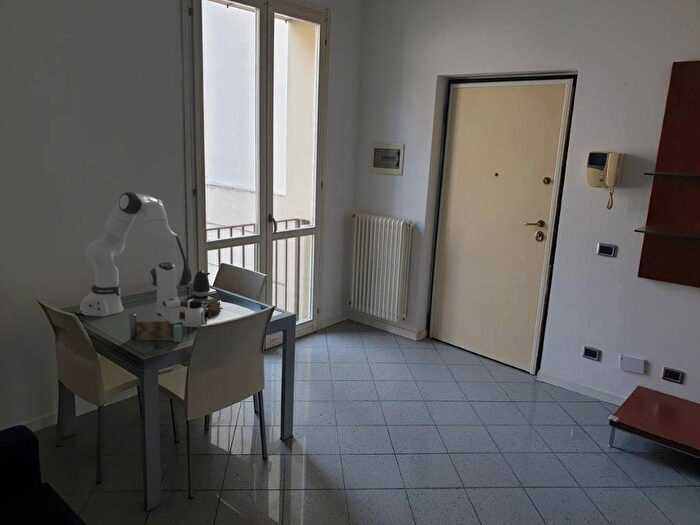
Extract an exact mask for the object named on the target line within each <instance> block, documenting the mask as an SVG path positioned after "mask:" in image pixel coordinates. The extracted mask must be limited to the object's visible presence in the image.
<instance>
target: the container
mask: <svg viewBox="0 0 700 525" xmlns="http://www.w3.org/2000/svg"><path fill="white" fill-rule="evenodd" d="M187 301H188V306H187V310H186V311H184V312H185V316H184V327H187V328H199V327H198V326H199V325H202V326H203V324H204V323H205V316H204V308H201V302H202V300H201V299H198V298H191V299H188V300H187Z"/></svg>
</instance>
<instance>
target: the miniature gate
mask: <svg viewBox="0 0 700 525" xmlns="http://www.w3.org/2000/svg"><path fill="white" fill-rule="evenodd" d="M179 301H180V306H185V307H188V300H187V301H185V300H179ZM201 308H204V317H205V316H206V315H207V314H208V319H209V320H210V319H211V318H212V317H214V316H215V315H216V314H218V313H219V312H221V310H223V307H221V301H219V297H217V298H215V299H213V300H212V301H210V302H209V301H201ZM157 312H158V311H157ZM185 312H186V311H181V310H180V314H179V317H185ZM158 315H161V314H160V313H159V312H158Z"/></svg>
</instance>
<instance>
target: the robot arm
mask: <svg viewBox="0 0 700 525" xmlns="http://www.w3.org/2000/svg"><path fill="white" fill-rule="evenodd" d="M137 217H139V218H142V220H143V228H144V232H145V236H146V237H147V239H149V241H152V242H153V243H156V244H160V245H162V246H166V247H167V248H169V249H170V250H172V252H173V256H174V259H175V262H176V264H174V263H172V262H161V263H159V264H157V266H155V267H153V268H152V269H151V270H150V272H149V274H150V278H149V279H150V280H149V281H150V282H149V283H150V284H151V285H152V286H154V287H156V288H157V290H156V301H157V302H156V309H157V312H159V313H160V314H159V313H158V314H159V315H161V316H162V317H163V321H164V322H169V323H170V324H175V323H178V322H180V316H179V314H180V311H181V310H180V307H181V305H180V301H181V300H180V298H179V296H178V289H177V287H181V286H182V287H185V286H187V285H189V283H190V282H191V281H192V280H193V279H192V274H193V273H192V270H191V268H190V266H189V263H188V260H187V257H186V254H185V252H184V249H183V246H182V243H181V241H180V238H179V236H178V234H177V233H175V232H173V231H172V229H171V228H170V225H169V220H168V215H167V211H166V209H165V205H164V202H163V201H162V200H161V199H159V198H157V197H154V196H151V195H147V194H144V193H136V192H132V191H127V192H124V193H122V194H121V195H120V197H119V200H118V201H117V203H116V204H115V206H114V208H113V210H112V211H111V213H110V215H109V217H108V219H107V221H106V222H105V224H104V228H105V232H104V234H103V236H101V238H99V239H96V240H93V241H91V242H90V243H89V244H88V245H86V247H85V251H84V254H85V257H86V258H87V259H88V261H90V262H91V263H92V264H91V265H92V267H93V270H94V278H95V280H94V281H95V283H94V284H93V285H92V287H91V288H90V289H91V290H90V291H92V292H91V293H89V294H88V295H86V296H85V297H84V298H83V299H82V300H81V302H80V306H79V307H80V310H81V311H83V312H82V314H84V315H83V316H94V317H107V316H110V315H115V314H119V313H121V312H123V311H124V310H125V309H124V306H123V303H122V299H121V290H122V289H121V284H120V279H119V278H120V276H119V275H120V274H119V272H120V271H119V269H118V268H117V267H116V265H115V263H114V258H115V257H117V256H119V255H120V254H122V252H123V251H124V250H125V247H126V244H125V243H126V239H127V235H128V232H129V231H130V229H131V227H132V226H133V223H134V221H135V220H136V218H137Z"/></svg>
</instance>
